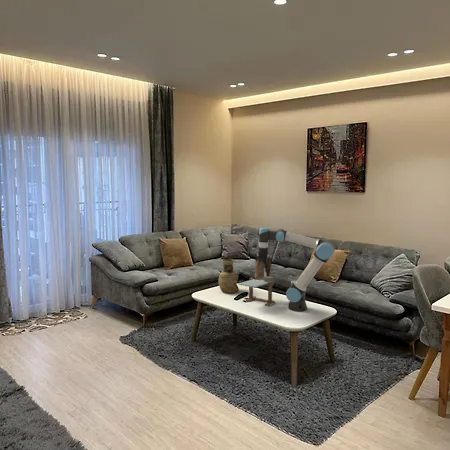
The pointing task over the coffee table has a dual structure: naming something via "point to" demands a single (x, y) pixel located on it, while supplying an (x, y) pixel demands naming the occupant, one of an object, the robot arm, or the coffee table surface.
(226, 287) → the ceramic vessel
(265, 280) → the trapdoor
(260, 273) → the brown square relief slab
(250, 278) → the trapdoor frame
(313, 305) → the coffee table surface
